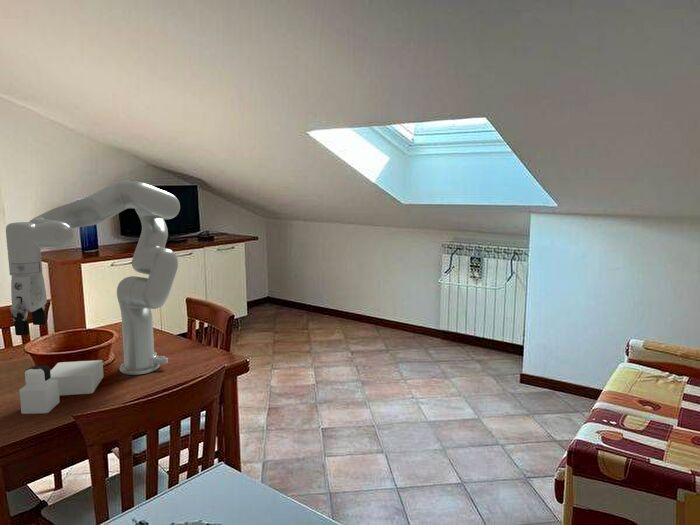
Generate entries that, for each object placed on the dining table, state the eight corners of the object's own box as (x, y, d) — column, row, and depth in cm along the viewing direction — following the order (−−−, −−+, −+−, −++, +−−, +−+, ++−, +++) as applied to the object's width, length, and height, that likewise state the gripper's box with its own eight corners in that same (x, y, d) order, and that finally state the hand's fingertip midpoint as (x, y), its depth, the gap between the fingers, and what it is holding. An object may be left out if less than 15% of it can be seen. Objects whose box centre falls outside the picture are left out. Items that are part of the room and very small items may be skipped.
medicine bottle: (34, 403, 148) (30, 363, 146) (60, 402, 149) (56, 362, 147) (20, 414, 141) (16, 372, 139) (48, 413, 142) (44, 372, 140)
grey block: (103, 377, 168) (102, 360, 167) (92, 394, 156) (91, 375, 155) (59, 380, 165) (58, 362, 164) (45, 397, 153) (43, 378, 152)
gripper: (25, 274, 131) (30, 339, 134) (54, 262, 148) (58, 320, 151) (-7, 274, 130) (-1, 339, 133) (26, 263, 147) (31, 321, 150)
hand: (31, 329), depth 142 cm, fingers open, 9 cm apart
